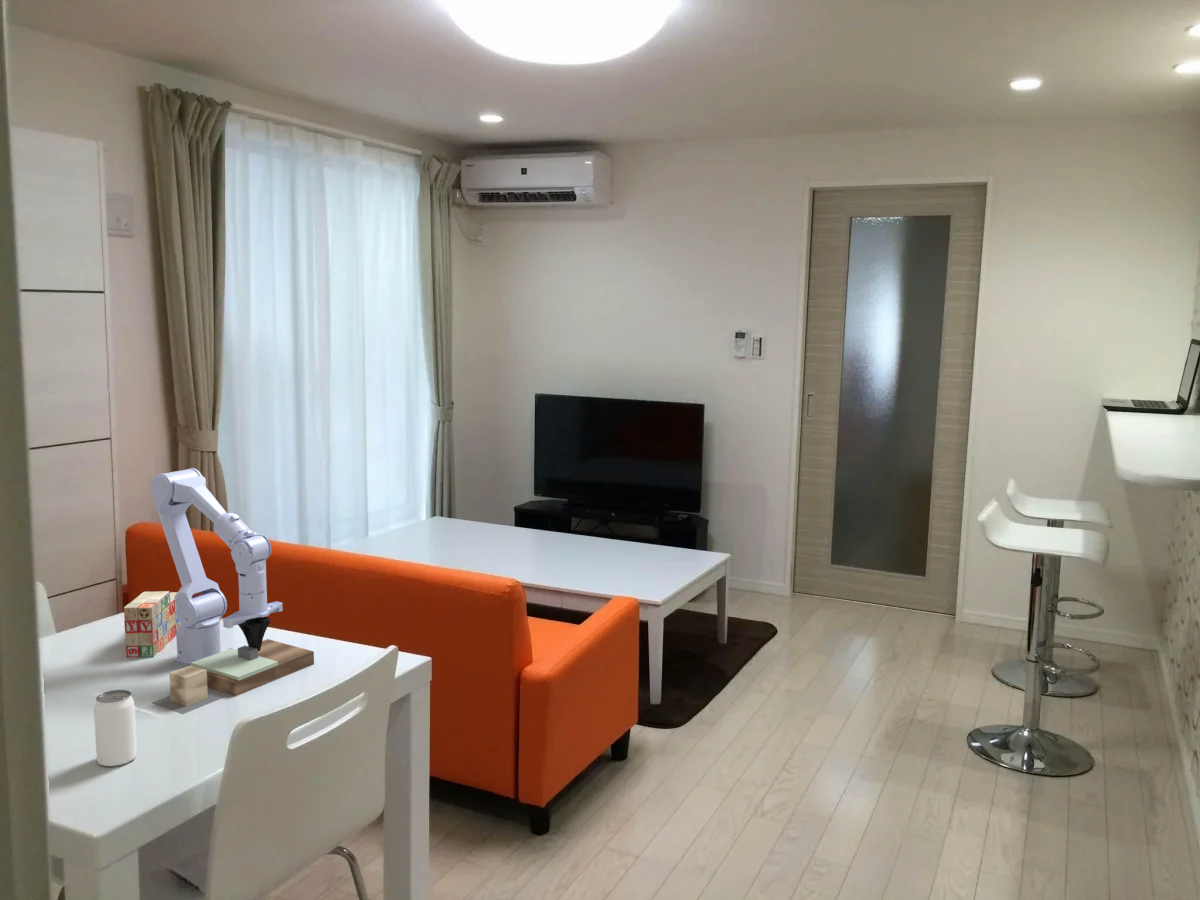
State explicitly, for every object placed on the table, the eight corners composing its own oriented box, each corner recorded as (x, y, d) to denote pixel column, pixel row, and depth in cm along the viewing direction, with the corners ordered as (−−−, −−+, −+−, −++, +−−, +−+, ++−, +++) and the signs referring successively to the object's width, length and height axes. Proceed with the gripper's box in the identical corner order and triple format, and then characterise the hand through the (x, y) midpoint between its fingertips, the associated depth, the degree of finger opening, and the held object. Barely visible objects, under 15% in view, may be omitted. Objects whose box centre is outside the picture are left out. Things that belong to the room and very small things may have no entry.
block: (170, 700, 198) (169, 672, 197) (191, 692, 202) (190, 665, 201) (186, 706, 195) (185, 677, 195) (207, 697, 200) (206, 670, 199)
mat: (151, 705, 197) (150, 702, 197) (193, 688, 205) (193, 686, 205) (183, 716, 192) (182, 713, 192) (225, 699, 201) (225, 696, 200)
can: (106, 751, 176) (102, 688, 175) (142, 750, 177) (139, 688, 175) (90, 768, 170) (86, 703, 168) (128, 767, 171) (125, 702, 169)
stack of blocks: (159, 627, 244) (157, 580, 242) (185, 627, 244) (183, 580, 242) (126, 658, 223) (123, 606, 221) (154, 658, 223) (151, 606, 221)
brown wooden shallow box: (188, 683, 208) (188, 667, 208) (268, 653, 227) (267, 639, 226) (236, 698, 201) (235, 682, 201) (314, 666, 219) (313, 651, 219)
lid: (191, 666, 209) (190, 653, 208) (231, 651, 218) (231, 639, 217) (238, 680, 201) (238, 667, 201) (278, 665, 210) (277, 652, 210)
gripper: (238, 602, 204) (240, 664, 206) (291, 585, 216) (293, 644, 218) (215, 596, 207) (218, 657, 209) (269, 580, 220) (271, 638, 222)
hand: (254, 650), depth 214 cm, fingers closed
